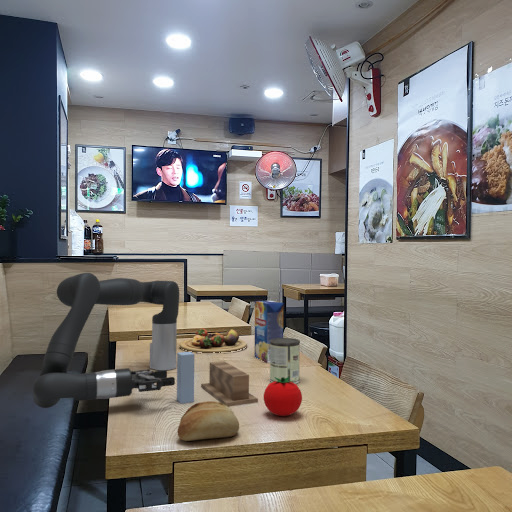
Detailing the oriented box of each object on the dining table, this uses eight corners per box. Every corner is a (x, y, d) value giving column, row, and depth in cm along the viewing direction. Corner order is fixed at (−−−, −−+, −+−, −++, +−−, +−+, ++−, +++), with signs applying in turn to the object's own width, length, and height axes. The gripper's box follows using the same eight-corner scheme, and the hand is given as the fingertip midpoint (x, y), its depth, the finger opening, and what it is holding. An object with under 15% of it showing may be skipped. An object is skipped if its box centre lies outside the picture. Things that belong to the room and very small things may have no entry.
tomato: (270, 406, 133) (271, 371, 133) (306, 411, 129) (306, 375, 129) (257, 418, 123) (258, 380, 124) (295, 423, 120) (295, 384, 120)
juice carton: (283, 361, 191) (283, 303, 191) (266, 363, 188) (267, 303, 188) (270, 355, 202) (270, 300, 202) (254, 357, 199) (254, 301, 199)
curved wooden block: (257, 402, 137) (258, 374, 137) (226, 406, 133) (226, 378, 133) (229, 383, 157) (229, 359, 157) (201, 386, 153) (201, 362, 153)
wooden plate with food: (175, 343, 232) (175, 326, 232) (237, 339, 241) (237, 323, 241) (185, 358, 201) (185, 338, 201) (255, 353, 211) (255, 335, 211)
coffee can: (274, 376, 167) (274, 337, 167) (302, 379, 164) (302, 338, 164) (265, 383, 158) (266, 341, 158) (295, 386, 154) (295, 343, 154)
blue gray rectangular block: (180, 403, 135) (181, 355, 135) (176, 399, 139) (177, 352, 139) (193, 402, 137) (194, 354, 137) (189, 398, 140) (190, 351, 140)
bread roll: (171, 435, 112) (172, 401, 112) (230, 426, 118) (230, 394, 118) (183, 450, 103) (183, 414, 103) (245, 439, 109) (245, 405, 109)
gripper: (117, 376, 123) (177, 369, 129) (109, 364, 135) (164, 359, 142) (116, 404, 123) (177, 397, 129) (109, 390, 135) (164, 384, 142)
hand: (170, 377), depth 136 cm, fingers open, 8 cm apart
